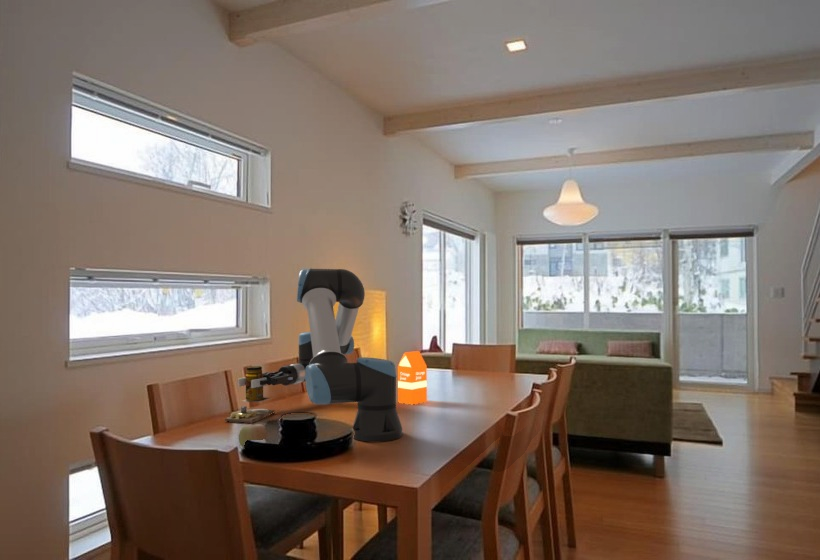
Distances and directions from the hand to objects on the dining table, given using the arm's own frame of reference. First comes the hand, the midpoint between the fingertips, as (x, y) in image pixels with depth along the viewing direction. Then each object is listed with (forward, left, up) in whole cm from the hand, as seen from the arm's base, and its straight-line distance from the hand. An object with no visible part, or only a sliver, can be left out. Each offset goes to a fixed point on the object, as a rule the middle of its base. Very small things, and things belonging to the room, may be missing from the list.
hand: (245, 383), depth 191 cm
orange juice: (+38, -52, -12) cm, 65 cm away
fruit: (-35, -23, -12) cm, 44 cm away
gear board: (+1, -2, -12) cm, 12 cm away
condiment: (+5, -2, -7) cm, 9 cm away
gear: (-3, -1, -11) cm, 11 cm away
